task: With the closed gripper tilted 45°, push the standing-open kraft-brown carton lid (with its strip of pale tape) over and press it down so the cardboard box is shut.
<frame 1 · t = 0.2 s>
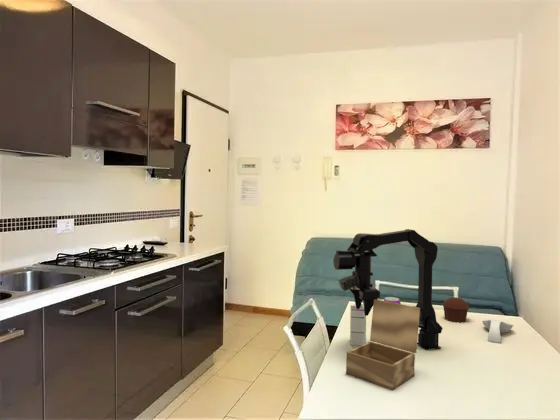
hand: (362, 312, 155), 14 cm above the table, tool pointing down, fingers open, 8 cm apart
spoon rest: (496, 335, 178), on the table
carton lid: (394, 324, 141), point 14 cm above the table, hinge at 98.1°, touching gripper
beverage can: (391, 326, 187), on the table
carton: (380, 374, 135), on the table
syrup box: (357, 343, 164), on the table
muffin: (455, 320, 198), on the table
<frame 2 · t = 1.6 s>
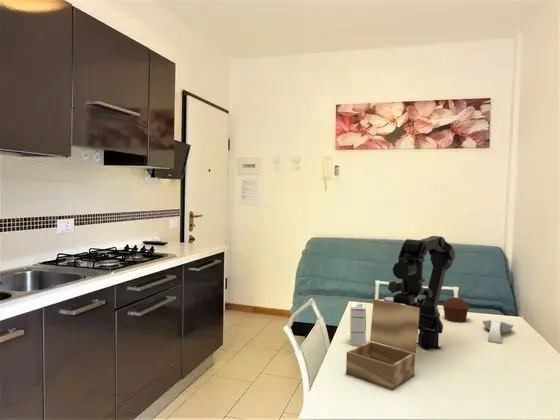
hand: (412, 319, 151), 13 cm above the table, tool pointing down, fingers closed
carton lid: (394, 324, 141), point 14 cm above the table, hinge at 96.8°
everything else where it was.
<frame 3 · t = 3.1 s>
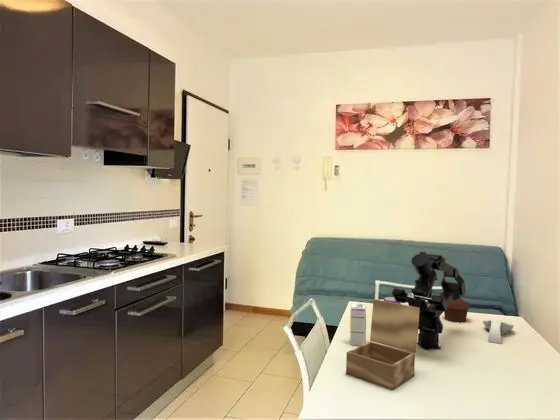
hand: (410, 319, 150), 13 cm above the table, tool tilted 45°, fingers closed
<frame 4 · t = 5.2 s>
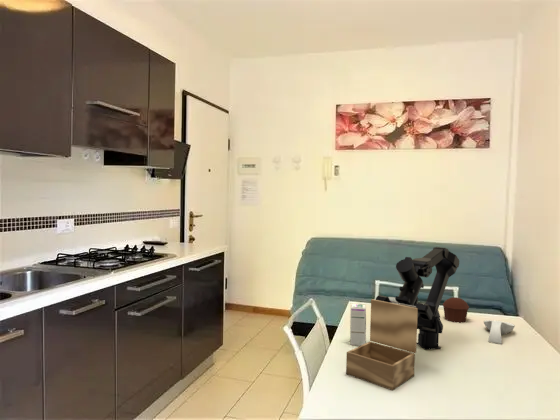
hand: (394, 328, 141), 13 cm above the table, tool tilted 45°, fingers closed, pressing on carton lid
carton lid: (393, 325, 140), point 14 cm above the table, hinge at 90.3°, touching gripper
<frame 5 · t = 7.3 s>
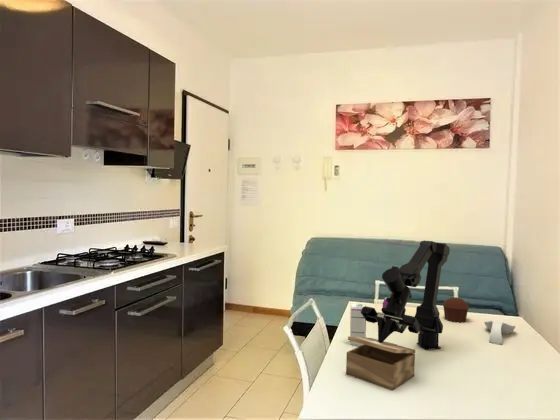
hand: (379, 342, 134), 11 cm above the table, tool tilted 45°, fingers closed, pressing on carton lid
carton lid: (381, 344, 135), point 10 cm above the table, hinge at 15.0°, touching gripper
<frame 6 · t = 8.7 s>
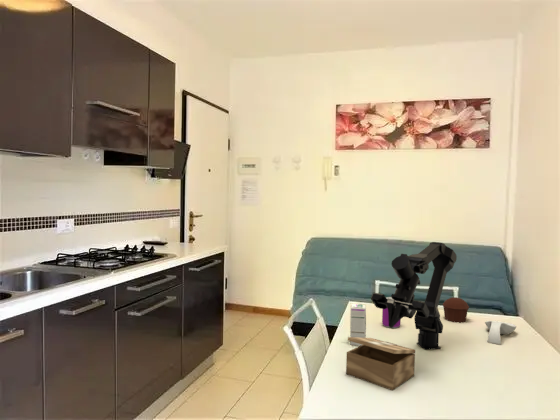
hand: (390, 326, 139), 14 cm above the table, tool tilted 45°, fingers closed
carton lid: (381, 344, 135), point 9 cm above the table, hinge at 14.1°
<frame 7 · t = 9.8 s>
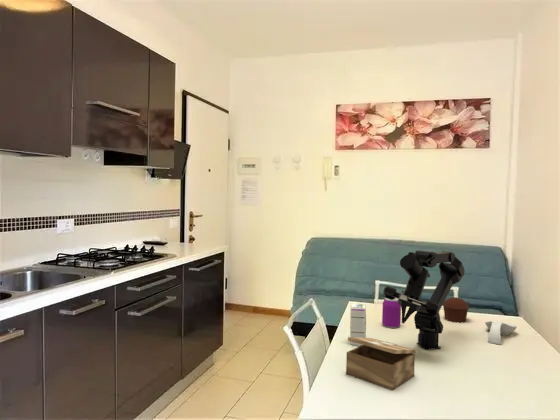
hand: (402, 323, 147), 13 cm above the table, tool tilted 35°, fingers closed
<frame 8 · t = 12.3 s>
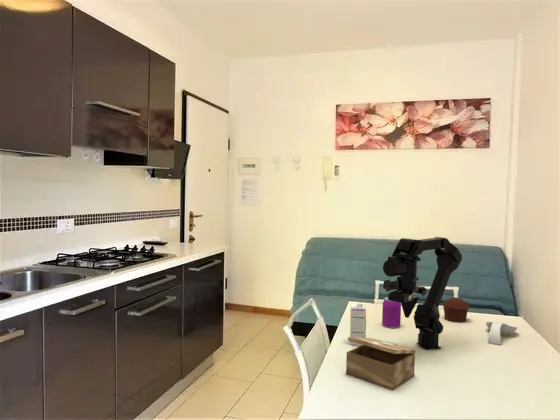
hand: (407, 317, 154), 13 cm above the table, tool pointing down, fingers closed
at the end: carton lid at +14° (first picture: +98°); syrup box moved 0.2 cm from its start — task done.
